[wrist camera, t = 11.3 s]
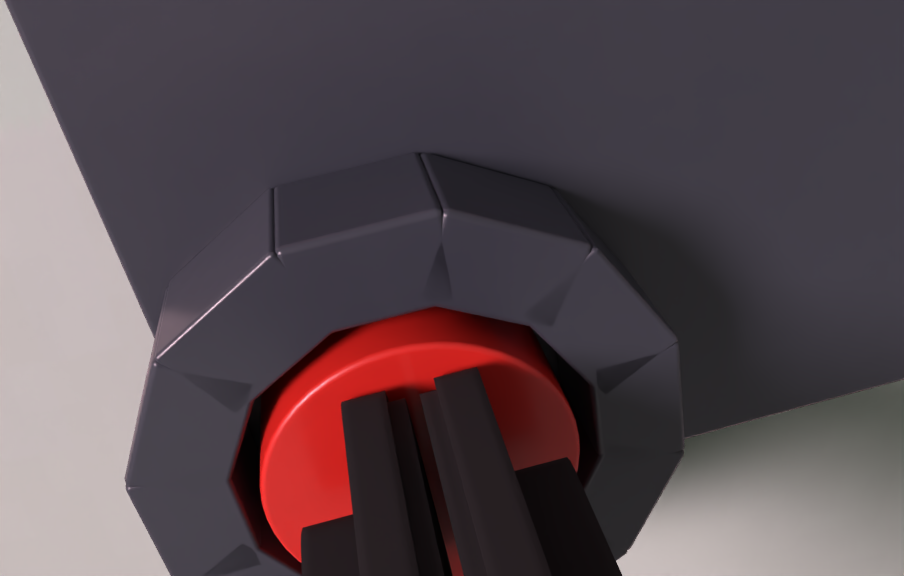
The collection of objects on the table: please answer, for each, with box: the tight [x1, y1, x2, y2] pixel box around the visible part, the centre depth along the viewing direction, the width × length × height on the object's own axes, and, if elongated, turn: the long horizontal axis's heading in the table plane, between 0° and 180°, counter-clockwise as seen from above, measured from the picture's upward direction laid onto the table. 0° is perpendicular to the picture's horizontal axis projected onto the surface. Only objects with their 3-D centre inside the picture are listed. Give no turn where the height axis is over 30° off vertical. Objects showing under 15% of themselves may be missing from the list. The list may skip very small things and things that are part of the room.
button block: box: [5, 0, 904, 576], centre depth 12 cm, size 12×10×4 cm
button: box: [260, 306, 580, 576], centre depth 11 cm, size 4×4×2 cm
